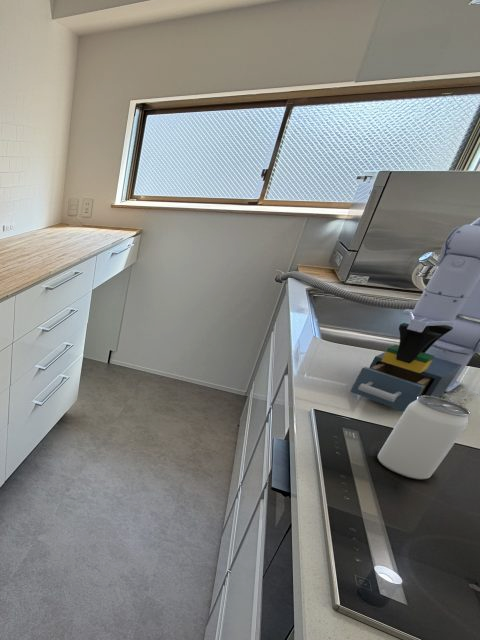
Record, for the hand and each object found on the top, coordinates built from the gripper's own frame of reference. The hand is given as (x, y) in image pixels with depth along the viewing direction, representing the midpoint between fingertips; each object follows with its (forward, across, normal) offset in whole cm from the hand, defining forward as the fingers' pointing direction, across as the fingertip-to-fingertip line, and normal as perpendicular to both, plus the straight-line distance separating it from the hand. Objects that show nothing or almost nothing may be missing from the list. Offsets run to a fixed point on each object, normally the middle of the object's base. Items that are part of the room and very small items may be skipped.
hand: (407, 359), depth 83 cm
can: (+10, +26, +10) cm, 30 cm away
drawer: (+9, +1, 0) cm, 9 cm away
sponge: (+1, 0, 0) cm, 1 cm away
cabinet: (+10, -9, 0) cm, 14 cm away
